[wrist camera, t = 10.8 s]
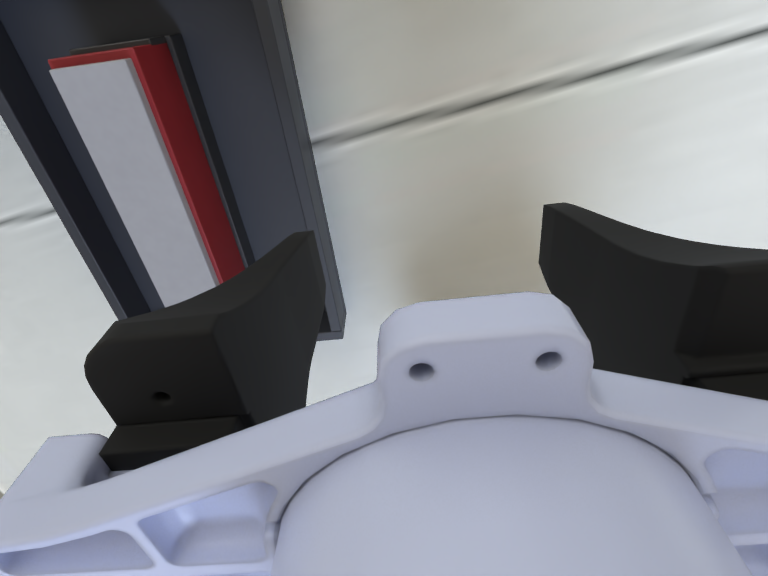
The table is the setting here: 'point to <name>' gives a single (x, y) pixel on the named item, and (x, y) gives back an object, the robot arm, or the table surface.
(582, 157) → the table surface
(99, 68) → the red and grey slab
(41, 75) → the tray
